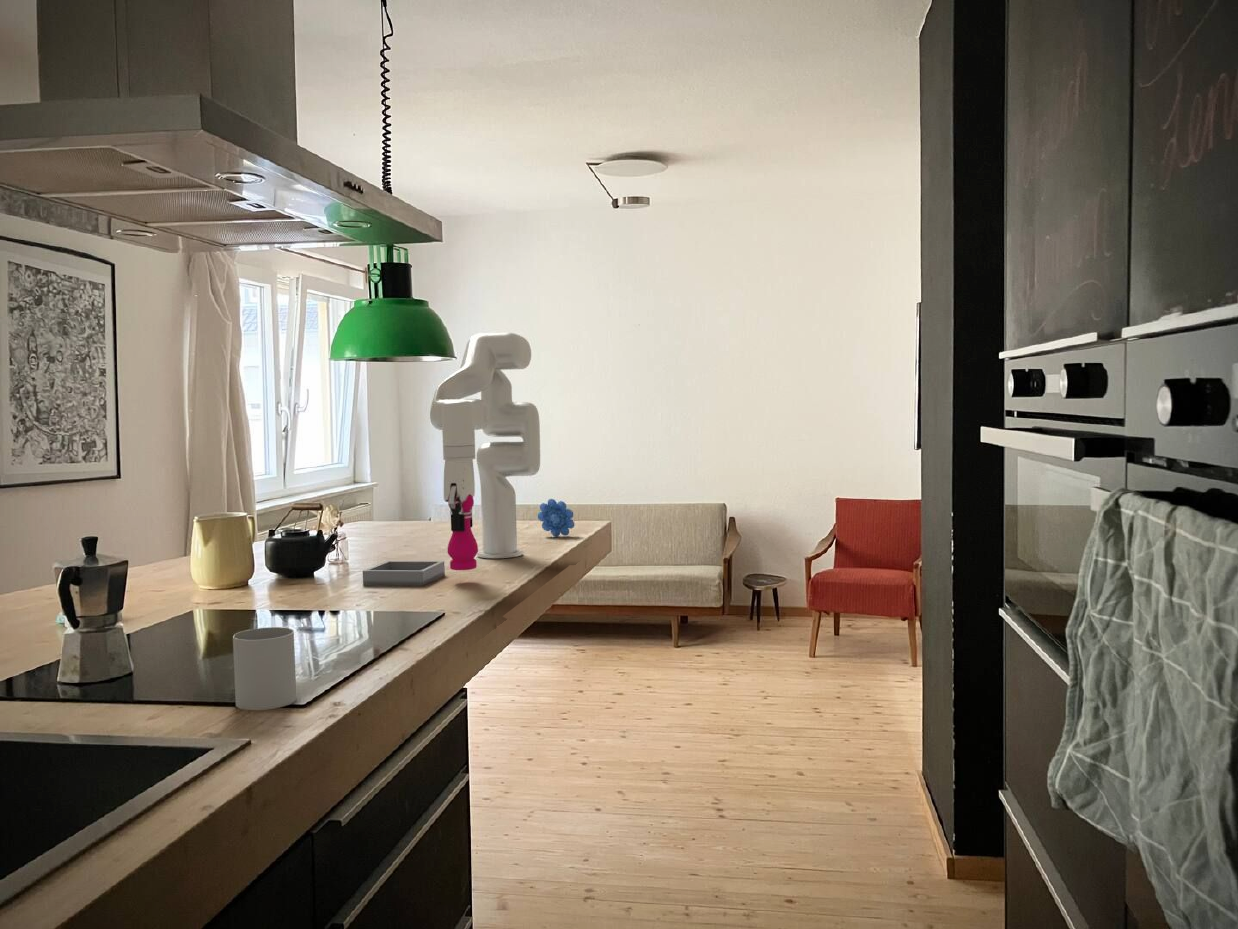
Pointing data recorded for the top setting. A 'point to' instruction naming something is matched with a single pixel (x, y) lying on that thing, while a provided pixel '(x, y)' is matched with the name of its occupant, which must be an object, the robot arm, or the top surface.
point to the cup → (264, 668)
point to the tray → (403, 573)
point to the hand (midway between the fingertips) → (462, 528)
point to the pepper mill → (463, 542)
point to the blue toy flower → (556, 517)
